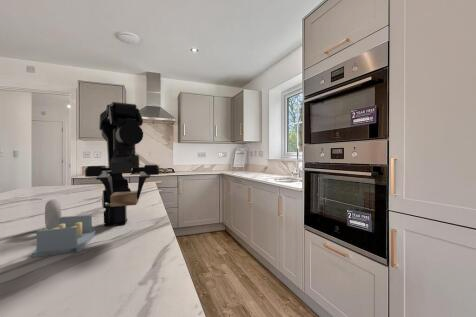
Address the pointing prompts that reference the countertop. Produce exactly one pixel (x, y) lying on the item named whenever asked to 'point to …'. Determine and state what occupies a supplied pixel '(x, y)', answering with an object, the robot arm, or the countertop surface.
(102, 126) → the robot arm
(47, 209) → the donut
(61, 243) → the peg stand
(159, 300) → the countertop surface
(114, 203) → the walnut block
